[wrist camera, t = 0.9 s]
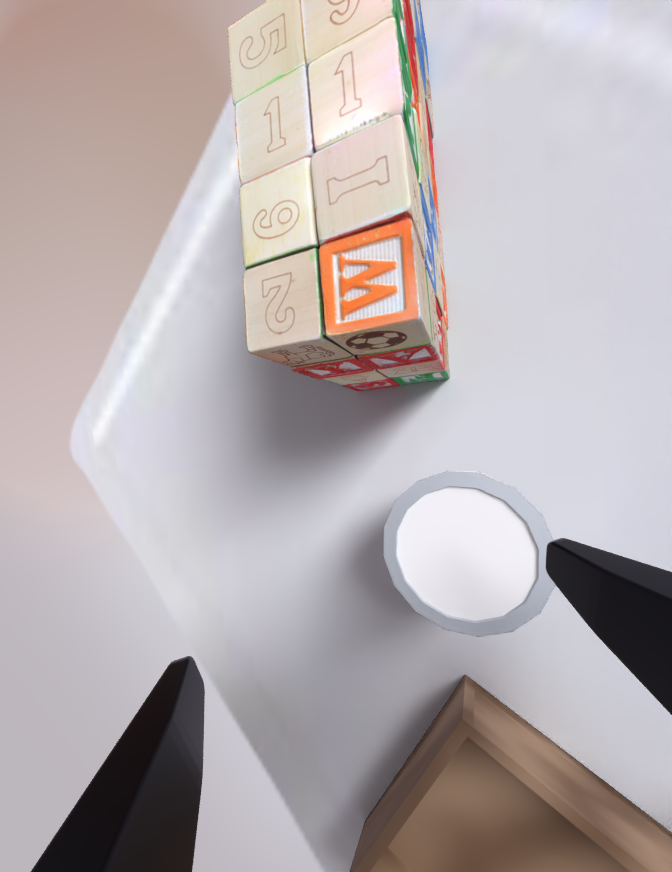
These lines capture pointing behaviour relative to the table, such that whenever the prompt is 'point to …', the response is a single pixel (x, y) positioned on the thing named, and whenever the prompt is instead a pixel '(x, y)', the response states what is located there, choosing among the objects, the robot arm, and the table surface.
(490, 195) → the table surface
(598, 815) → the walnut crate
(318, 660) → the table surface
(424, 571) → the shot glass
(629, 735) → the table surface
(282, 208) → the stack of blocks
